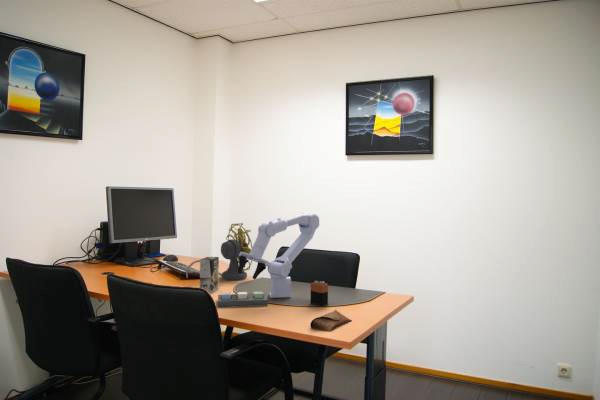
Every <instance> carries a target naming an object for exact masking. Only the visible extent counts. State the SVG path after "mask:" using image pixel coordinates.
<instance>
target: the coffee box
mask: <svg viewBox="0 0 600 400" xmlns="http://www.w3.org/2000/svg"><path fill="white" fill-rule="evenodd" d="M219 259H220V258H219V256H206V257H203V258H201V259H199V260H200V262H199V289H200V288H203V289H205V290H207V291H208V292H209V293H208V294H214V293H215V292H216V291H218V290H220V288H219V285H220V284H219V283H220V282H219V279H220V275H219V273H220V272H219V271H220V270H219V269H220V267H219V266H220V265H219V263H220V261H219Z"/></svg>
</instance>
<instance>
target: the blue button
mask: <svg viewBox="0 0 600 400" xmlns="http://www.w3.org/2000/svg"><path fill="white" fill-rule="evenodd" d="M231 294H232V292H221V295H222V299H231Z"/></svg>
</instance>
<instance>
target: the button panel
mask: <svg viewBox="0 0 600 400" xmlns="http://www.w3.org/2000/svg"><path fill="white" fill-rule="evenodd" d="M268 302H269V301H268V297H267V295H266V293H264V292H263V298H254V293H247V298H246V299H238V293H235V294H233V293H231V299H222V294H218V296H217V308H232V307H233V308H237V307H238V308H239V307H263V306H265V307H267V306H268Z"/></svg>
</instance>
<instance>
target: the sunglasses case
mask: <svg viewBox="0 0 600 400" xmlns="http://www.w3.org/2000/svg"><path fill="white" fill-rule="evenodd" d="M352 321H353V320H352V319H351V318H348V317H347V316H346V315H344V314H342V313H341V312H340V311H337V309H335V310H334V311H333V310H332V311H330V312H327V313H325V314H323V315H321V316H318V317H315V318H314V319H312V320H311V322H310V329H311V330H312V329H313V330H317V331H323V332H328V333H330V332H332V331H333V330H335V329H338V328H339V327H342V326H343V325H345V324H347V323H351V322H352Z"/></svg>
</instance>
